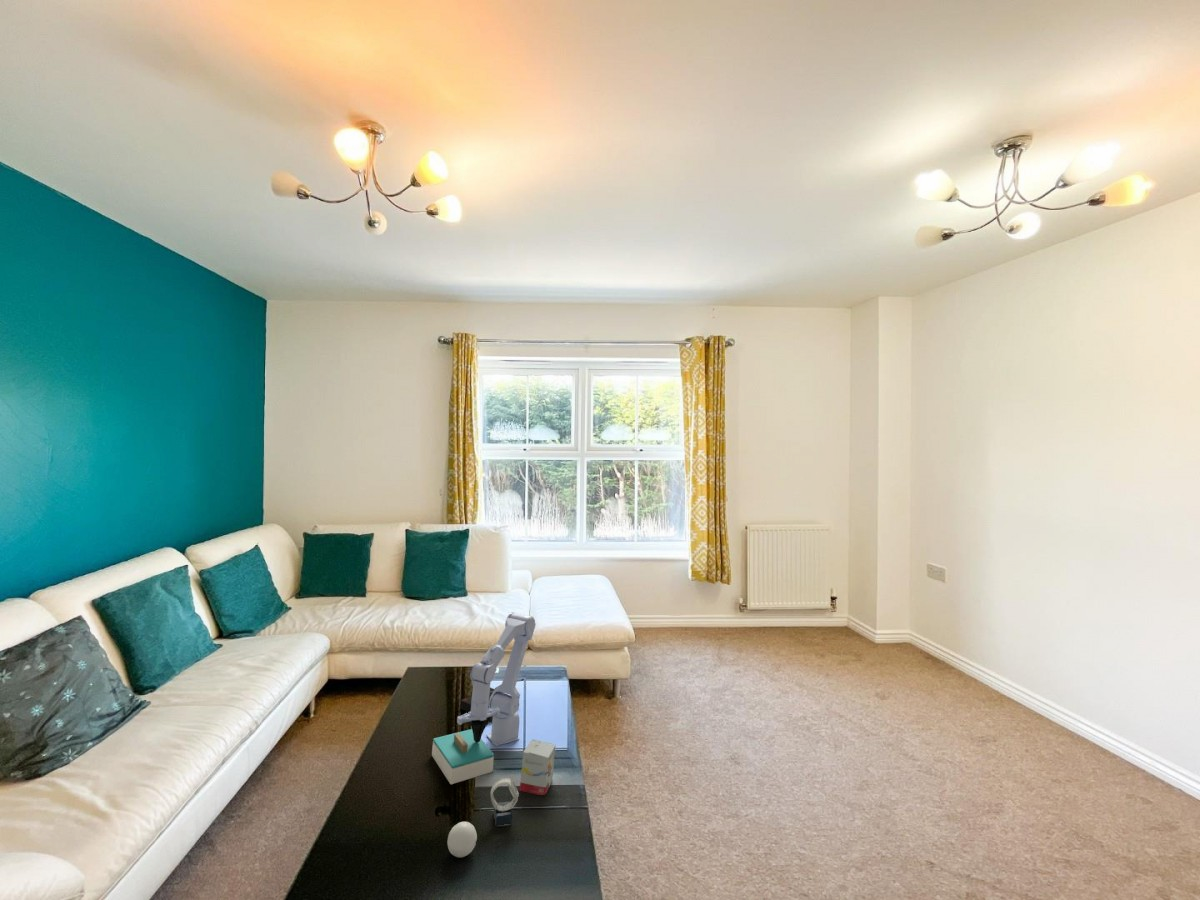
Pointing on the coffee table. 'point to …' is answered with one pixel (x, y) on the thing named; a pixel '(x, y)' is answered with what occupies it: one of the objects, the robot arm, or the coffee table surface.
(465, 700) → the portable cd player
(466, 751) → the lid
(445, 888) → the coffee table surface
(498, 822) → the watch
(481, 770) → the mailer box
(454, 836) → the white egg
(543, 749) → the ink box
